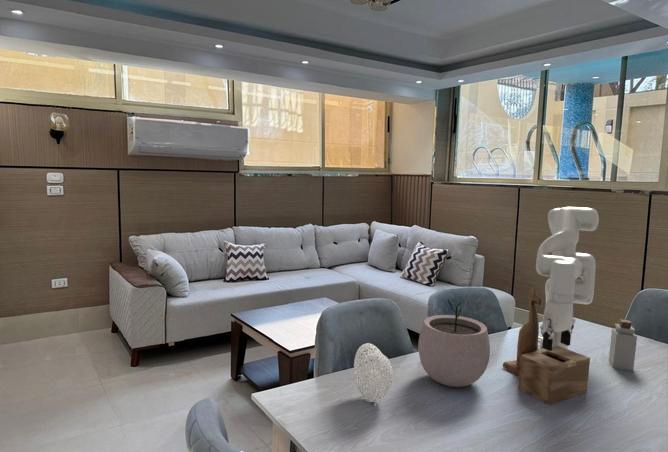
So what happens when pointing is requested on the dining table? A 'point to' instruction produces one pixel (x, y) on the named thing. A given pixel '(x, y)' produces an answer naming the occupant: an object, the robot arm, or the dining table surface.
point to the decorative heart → (372, 373)
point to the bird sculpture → (527, 334)
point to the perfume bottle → (623, 346)
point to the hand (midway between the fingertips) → (556, 346)
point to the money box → (553, 374)
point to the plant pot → (454, 349)
